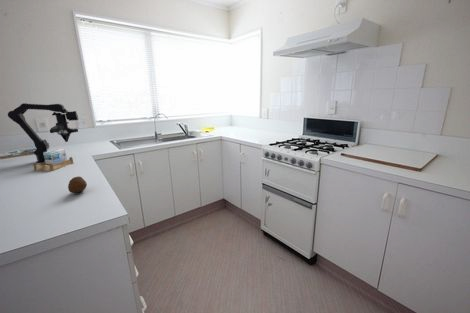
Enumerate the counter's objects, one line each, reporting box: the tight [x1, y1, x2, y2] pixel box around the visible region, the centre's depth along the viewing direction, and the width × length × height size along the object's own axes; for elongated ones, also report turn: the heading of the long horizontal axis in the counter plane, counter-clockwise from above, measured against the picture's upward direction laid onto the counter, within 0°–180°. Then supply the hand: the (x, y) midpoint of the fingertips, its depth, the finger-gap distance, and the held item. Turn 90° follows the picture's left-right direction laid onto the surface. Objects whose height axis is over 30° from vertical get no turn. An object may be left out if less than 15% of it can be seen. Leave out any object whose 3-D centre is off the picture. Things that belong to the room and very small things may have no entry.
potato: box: [67, 176, 87, 194], centre depth 107 cm, size 7×10×8 cm
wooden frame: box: [32, 156, 74, 172], centre depth 150 cm, size 13×16×5 cm
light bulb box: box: [43, 148, 68, 165], centre depth 152 cm, size 11×7×11 cm, turn 171°
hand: (66, 141), depth 169 cm, fingers closed
